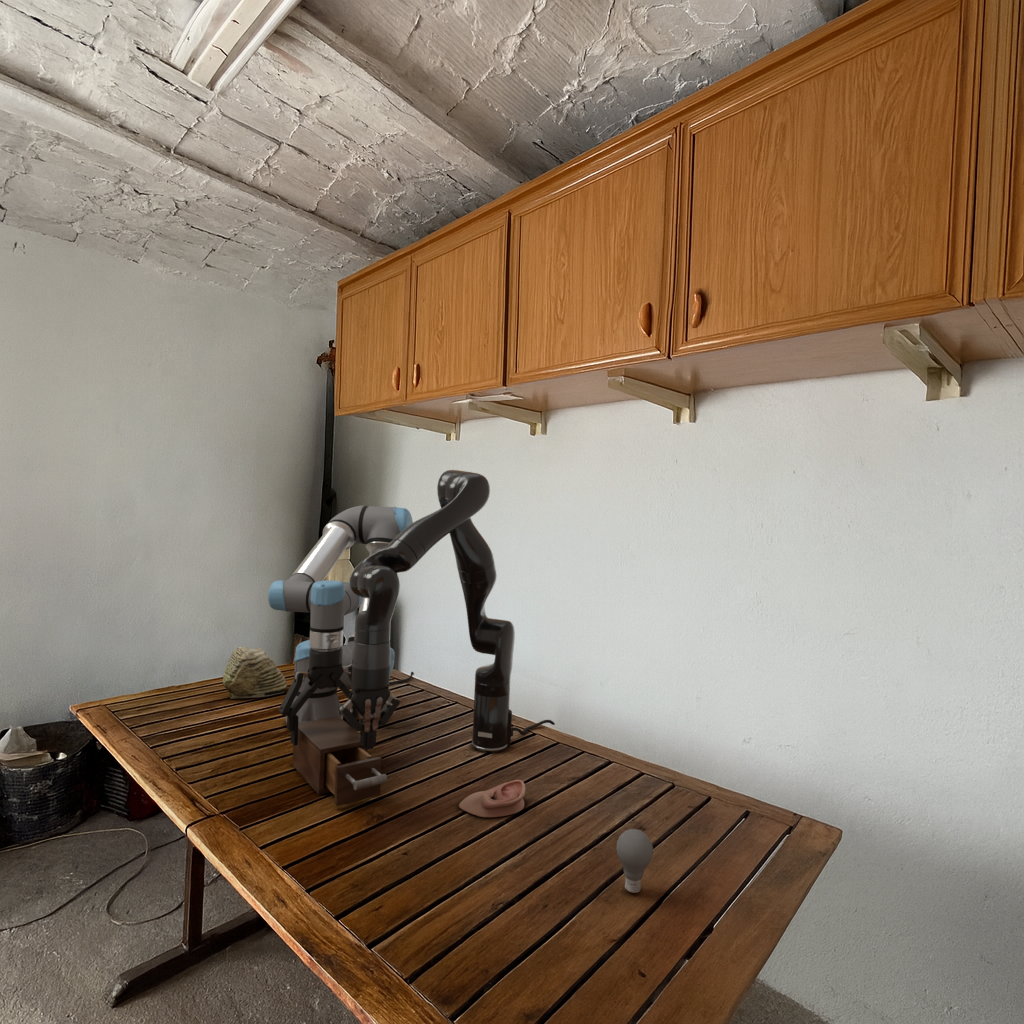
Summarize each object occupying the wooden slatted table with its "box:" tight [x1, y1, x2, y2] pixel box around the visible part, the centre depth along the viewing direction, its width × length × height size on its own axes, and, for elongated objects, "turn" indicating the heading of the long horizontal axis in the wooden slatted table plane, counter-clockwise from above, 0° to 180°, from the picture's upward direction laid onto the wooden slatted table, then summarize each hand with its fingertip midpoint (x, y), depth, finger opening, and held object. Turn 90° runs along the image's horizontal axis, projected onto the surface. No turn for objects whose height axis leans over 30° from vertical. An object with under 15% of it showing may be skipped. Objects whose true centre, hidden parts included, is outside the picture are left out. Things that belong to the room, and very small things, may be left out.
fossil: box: [222, 646, 288, 699], centre depth 198 cm, size 9×18×15 cm, turn 132°
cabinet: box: [292, 716, 368, 796], centre depth 145 cm, size 18×11×10 cm, turn 37°
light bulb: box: [615, 828, 654, 894], centre depth 106 cm, size 6×6×10 cm
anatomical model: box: [458, 779, 527, 818], centre depth 133 cm, size 13×4×12 cm
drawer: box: [324, 746, 388, 807], centre depth 135 cm, size 22×10×8 cm, turn 37°
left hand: (323, 737), depth 148 cm, fingers open, 13 cm apart
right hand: (367, 748), depth 128 cm, fingers closed
